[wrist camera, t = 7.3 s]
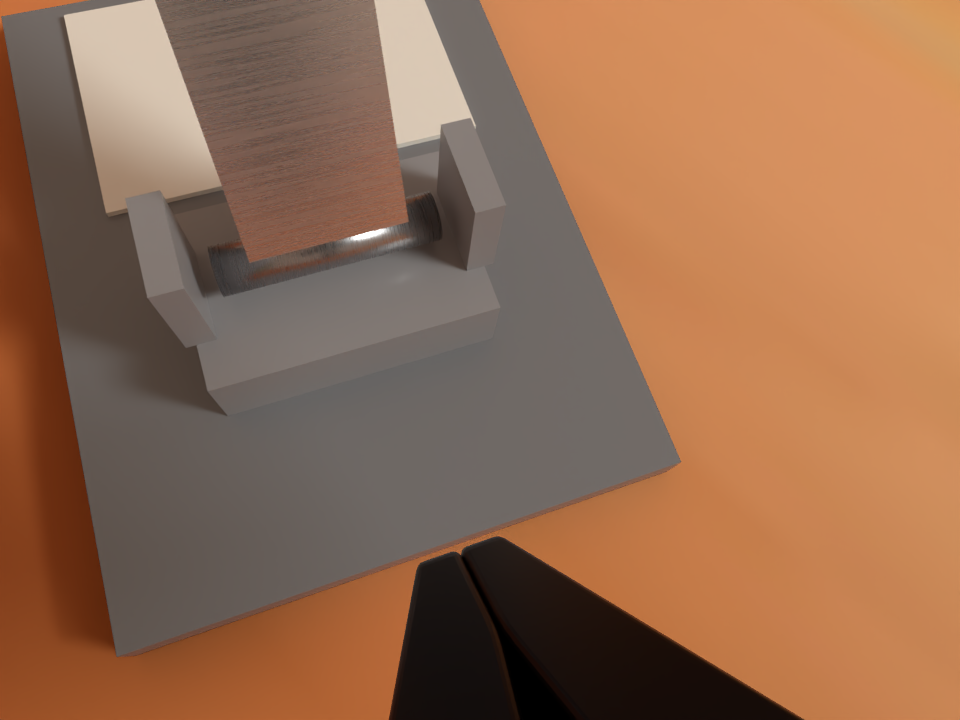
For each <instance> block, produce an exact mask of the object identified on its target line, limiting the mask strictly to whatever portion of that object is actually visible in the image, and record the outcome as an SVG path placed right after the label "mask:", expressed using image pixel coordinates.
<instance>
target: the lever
mask: <svg viewBox="0 0 960 720" xmlns="http://www.w3.org/2000/svg"><path fill="white" fill-rule="evenodd" d="M155 2H156V5H157V8H158V10H159V13H160V16H161V19H162V21H163V24H164V27H165V30H166V33H167V35H168V38H169V41H170V44H171V46H172V49H173V52H174V55H175V58H176V60H177V63H178V66H179V69H180V71H181V74H182V77H183V80H184V82H185V85H186V88H187V91H188V94H189V96H190V99H191V102H192V105H193V107H194V110H195V113H196V116H197V118H198V121H199V124H200V127H201V130H202V132H203V135H204V138H205V141H206V143H207V146H208V149H209V152H210V155H211V157H212V160H213V163H214V166H215V168H216V171H217V174H218V177H219V179H220V182H221V185H222V188H223V191H224V193H225V196H226V199H227V202H228V204H229V207H230V210H231V213H232V215H233V218H234V221H235V224H236V227H237V229H238V232H239V235H240V239H236V240H232V241H228V242H224V243H220V244H216V245H212V246H208V254H209V258H210V262H211V266H212V269H213V272H214V275H215V278H216V281H217V284H218V286H219V289H220V291H221V293H222V295H223V297H227V296H231V295H234V294H238V293H242V292H246V291H250V290H253V289H257V288H261V287H265V286H269V285H272V284H276V283H280V282H284V281H287V280H291V279H295V278H299V277H303V276H306V275H310V274H314V273H318V272H322V271H325V270H329V269H333V268H337V267H341V266H344V265H348V264H352V263H356V262H359V261H363V260H367V259H371V258H375V257H378V256H382V255H386V254H390V253H394V252H397V251H401V250H405V249H409V248H412V247H416V246H420V245H424V244H428V243H431V242H435V241H439V240H442V237H443V233H442V225H441V220H440V215H439V212H438V208H437V205H436V202H435V200H434V198H433V196H432V194H431V192H430V191H428V192H424V193H420V194H416V195H412V196H408V197H405V195H404V188H403V182H402V175H401V169H400V162H399V156H398V150H397V143H396V137H395V130H394V124H393V117H392V111H391V104H390V98H389V91H388V85H387V78H386V72H385V66H384V59H383V53H382V46H381V40H380V33H379V27H378V20H377V14H376V7H375V1H374V0H155Z"/></svg>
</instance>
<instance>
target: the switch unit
mask: <svg viewBox="0 0 960 720" xmlns="http://www.w3.org/2000/svg"><path fill="white" fill-rule="evenodd" d="M374 1H375V7H376V14H377V20H378V27H379V33H380V40H381V46H382V53H383V59H384V66H385V72H386V78H387V85H388V91H389V98H390V104H391V111H392V117H393V124H394V130H395V137H396V143H397V150H398V156H399V162H400V169H401V175H402V182H403V188H404V195H405V197H408V196H412V195H416V194H420V193H424V192H428V191H430V192H431V194H432V196H433V198H434V200H435V202H436V205H437V208H438V212H439V215H440V220H441V225H442V233H443V237H442V240H439V241H435V242H431V243H428V244H424V245H420V246H416V247H412V248H409V249H405V250H401V251H397V252H394V253H390V254H386V255H382V256H378V257H375V258H371V259H367V260H363V261H359V262H356V263H352V264H348V265H344V266H341V267H337V268H333V269H329V270H325V271H322V272H318V273H314V274H310V275H306V276H303V277H299V278H295V279H291V280H287V281H284V282H280V283H276V284H272V285H269V286H265V287H261V288H257V289H253V290H250V291H246V292H242V293H238V294H234V295H231V296H227V297H223V295H222V293H221V291H220V289H219V286H218V284H217V281H216V278H215V275H214V272H213V269H212V266H211V262H210V258H209V254H208V246H212V245H216V244H220V243H224V242H228V241H232V240H236V239H240V235H239V232H238V229H237V227H236V224H235V221H234V218H233V215H232V213H231V210H230V207H229V204H228V202H227V199H226V196H225V193H224V191H223V188H222V185H221V182H220V179H219V177H218V174H217V171H216V168H215V166H214V163H213V160H212V157H211V155H210V152H209V149H208V146H207V143H206V141H205V138H204V135H203V132H202V130H201V127H200V124H199V121H198V118H197V116H196V113H195V110H194V107H193V105H192V102H191V99H190V96H189V94H188V91H187V88H186V85H185V82H184V80H183V77H182V74H181V71H180V69H179V66H178V63H177V60H176V58H175V55H174V52H173V49H172V46H171V44H170V41H169V38H168V35H167V33H166V30H165V27H164V24H163V21H162V19H161V16H160V13H159V10H158V8H157V5H156V2H155V0H89V1H84V2H78V3H73V4H67V5H62V6H56V7H51V8H45V9H40V10H35V11H29V12H24V13H18V14H13V15H7V16H2V23H3V28H4V34H5V40H6V45H7V51H8V56H9V62H10V67H11V73H12V78H13V84H14V90H15V95H16V101H17V106H18V112H19V117H20V123H21V128H22V134H23V139H24V145H25V151H26V156H27V162H28V167H29V173H30V178H31V184H32V189H33V195H34V201H35V206H36V212H37V217H38V223H39V228H40V234H41V239H42V245H43V250H44V256H45V262H46V267H47V273H48V278H49V284H50V289H51V295H52V300H53V306H54V312H55V317H56V323H57V328H58V334H59V339H60V345H61V350H62V356H63V362H64V367H65V373H66V378H67V384H68V389H69V395H70V400H71V406H72V411H73V417H74V423H75V428H76V434H77V439H78V445H79V450H80V456H81V461H82V467H83V473H84V478H85V484H86V489H87V495H88V500H89V506H90V511H91V517H92V522H93V528H94V534H95V539H96V545H97V550H98V556H99V561H100V567H101V572H102V578H103V584H104V589H105V595H106V600H107V606H108V611H109V617H110V622H111V628H112V633H113V639H114V645H115V650H116V656H117V657H123V656H136V655H139V654H141V653H144V652H147V651H150V650H153V649H156V648H159V647H162V646H165V645H167V644H170V643H173V642H176V641H179V640H182V639H185V638H188V637H191V636H193V635H196V634H199V633H202V632H205V631H208V630H211V629H214V628H217V627H219V626H222V625H225V624H228V623H231V622H234V621H237V620H240V619H243V618H245V617H248V616H251V615H254V614H257V613H260V612H263V611H266V610H268V609H271V608H274V607H277V606H280V605H283V604H286V603H289V602H292V601H294V600H297V599H300V598H303V597H306V596H309V595H312V594H315V593H318V592H320V591H323V590H326V589H329V588H332V587H335V586H338V585H341V584H344V583H346V582H349V581H352V580H355V579H358V578H361V577H364V576H367V575H370V574H372V573H375V572H378V571H381V570H384V569H387V568H390V567H393V566H395V565H398V564H401V563H404V562H407V561H410V560H413V559H416V558H419V557H421V556H424V555H427V554H430V553H433V552H436V551H439V550H442V549H445V548H447V547H450V546H453V545H456V544H459V543H462V542H465V541H468V540H471V539H473V538H476V537H479V536H482V535H485V534H488V533H491V532H494V531H497V530H499V529H502V528H505V527H508V526H511V525H514V524H517V523H520V522H523V521H525V520H528V519H531V518H534V517H537V516H540V515H543V514H546V513H548V512H551V511H554V510H557V509H560V508H563V507H566V506H569V505H572V504H574V503H577V502H580V501H583V500H586V499H589V498H592V497H595V496H598V495H600V494H603V493H606V492H609V491H612V490H615V489H618V488H621V487H624V486H626V485H629V484H632V483H635V482H638V481H641V480H644V479H647V478H650V477H652V476H655V475H658V474H661V473H664V472H667V471H668V470H670V469H671V468H673V467H674V466H676V465H677V464H679V463H681V460H680V458H679V456H678V454H677V451H676V449H675V447H674V444H673V442H672V440H671V438H670V435H669V433H668V431H667V428H666V426H665V424H664V422H663V419H662V417H661V415H660V412H659V410H658V408H657V406H656V403H655V401H654V399H653V396H652V394H651V392H650V390H649V387H648V385H647V383H646V380H645V378H644V376H643V374H642V371H641V369H640V367H639V364H638V362H637V360H636V358H635V355H634V353H633V351H632V348H631V346H630V344H629V342H628V339H627V337H626V335H625V332H624V330H623V328H622V326H621V323H620V321H619V319H618V316H617V314H616V312H615V310H614V307H613V305H612V303H611V300H610V298H609V296H608V294H607V291H606V289H605V287H604V284H603V282H602V280H601V278H600V275H599V273H598V271H597V268H596V266H595V264H594V262H593V259H592V257H591V255H590V252H589V250H588V248H587V246H586V243H585V241H584V239H583V236H582V234H581V232H580V230H579V227H578V225H577V223H576V220H575V218H574V216H573V214H572V211H571V209H570V207H569V204H568V202H567V200H566V198H565V195H564V193H563V191H562V188H561V186H560V184H559V182H558V179H557V177H556V175H555V172H554V170H553V168H552V166H551V163H550V161H549V159H548V156H547V154H546V152H545V150H544V147H543V145H542V143H541V140H540V138H539V136H538V134H537V131H536V129H535V127H534V124H533V122H532V120H531V118H530V115H529V113H528V111H527V108H526V106H525V104H524V102H523V99H522V97H521V95H520V92H519V90H518V88H517V86H516V83H515V81H514V79H513V76H512V74H511V72H510V70H509V67H508V65H507V63H506V60H505V58H504V56H503V54H502V51H501V49H500V47H499V44H498V42H497V40H496V38H495V35H494V33H493V31H492V28H491V26H490V24H489V22H488V19H487V17H486V15H485V12H484V10H483V8H482V6H481V3H480V1H479V0H374Z"/></svg>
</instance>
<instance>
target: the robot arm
mask: <svg viewBox="0 0 960 720" xmlns="http://www.w3.org/2000/svg"><path fill="white" fill-rule="evenodd" d="M389 720H804V719H802V718H801V717H799V716H797V715H796V714H794V713H793V712H791V711H789V710H788V709H786V708H784V707H783V706H781V705H779V704H778V703H776V702H774V701H773V700H771V699H769V698H768V697H766V696H764V695H763V694H761V693H759V692H758V691H756V690H754V689H753V688H751V687H750V686H748V685H746V684H745V683H743V682H741V681H740V680H738V679H736V678H735V677H733V676H731V675H730V674H728V673H726V672H725V671H723V670H721V669H720V668H718V667H716V666H715V665H713V664H712V663H710V662H708V661H707V660H705V659H703V658H702V657H700V656H698V655H697V654H695V653H693V652H692V651H690V650H688V649H687V648H685V647H683V646H682V645H680V644H678V643H677V642H675V641H673V640H672V639H670V638H669V637H667V636H665V635H664V634H662V633H660V632H659V631H657V630H655V629H654V628H652V627H650V626H649V625H647V624H645V623H644V622H642V621H640V620H639V619H637V618H635V617H634V616H632V615H630V614H629V613H627V612H626V611H624V610H622V609H621V608H619V607H617V606H616V605H614V604H612V603H611V602H609V601H607V600H606V599H604V598H602V597H601V596H599V595H597V594H596V593H594V592H592V591H591V590H589V589H587V588H586V587H584V586H583V585H581V584H579V583H578V582H576V581H574V580H573V579H571V578H569V577H568V576H566V575H564V574H563V573H561V572H559V571H558V570H556V569H554V568H553V567H551V566H549V565H548V564H546V563H544V562H543V561H541V560H540V559H538V558H536V557H535V556H533V555H531V554H530V553H528V552H526V551H525V550H523V549H521V548H520V547H518V546H516V545H515V544H513V543H511V542H510V541H508V540H506V539H505V538H503V537H493V538H490V539H487V540H484V541H481V542H478V543H476V544H473V545H470V546H467V547H465V548H464V549H463V550H462V553H461V555H460V554H458V553H457V552H450V553H447V554H444V555H441V556H438V557H435V558H433V559H430V560H427V561H424V562H422V563H420V565H419V566H418V568H417V571H416V575H415V581H414V586H413V592H412V597H411V603H410V608H409V613H408V619H407V624H406V630H405V635H404V640H403V646H402V651H401V657H400V662H399V667H398V673H397V678H396V684H395V689H394V695H393V700H392V705H391V711H390V716H389Z"/></svg>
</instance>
